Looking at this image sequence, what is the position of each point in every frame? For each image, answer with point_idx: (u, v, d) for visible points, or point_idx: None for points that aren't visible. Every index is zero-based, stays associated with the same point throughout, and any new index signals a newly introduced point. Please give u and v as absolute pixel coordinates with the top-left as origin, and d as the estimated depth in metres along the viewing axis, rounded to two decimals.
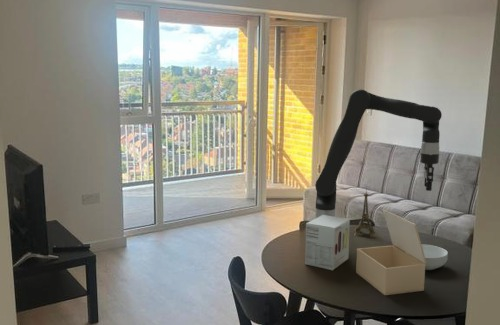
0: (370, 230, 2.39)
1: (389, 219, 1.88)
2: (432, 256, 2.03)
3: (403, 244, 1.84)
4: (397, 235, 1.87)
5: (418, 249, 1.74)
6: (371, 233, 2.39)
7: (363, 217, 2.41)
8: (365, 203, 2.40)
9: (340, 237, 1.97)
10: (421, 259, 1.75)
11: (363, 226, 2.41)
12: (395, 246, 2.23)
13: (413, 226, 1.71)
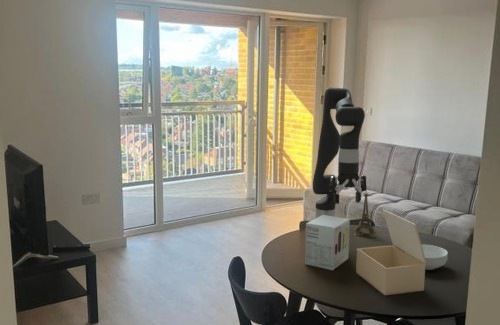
0: (370, 230, 2.39)
1: (389, 219, 1.88)
2: (432, 256, 2.03)
3: (403, 244, 1.84)
4: (397, 235, 1.87)
5: (418, 249, 1.74)
6: (371, 233, 2.39)
7: (363, 217, 2.41)
8: (365, 203, 2.40)
9: (340, 237, 1.97)
10: (421, 259, 1.75)
11: (363, 226, 2.41)
12: (395, 246, 2.22)
13: (413, 226, 1.71)
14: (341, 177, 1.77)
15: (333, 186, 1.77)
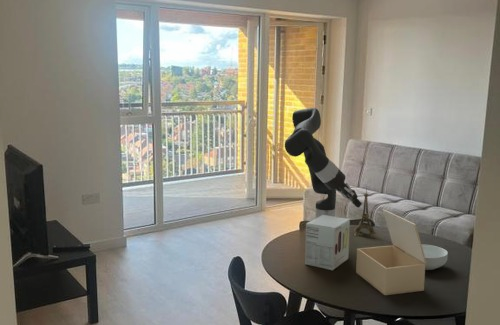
0: (370, 230, 2.39)
1: (389, 219, 1.88)
2: (432, 256, 2.03)
3: (403, 244, 1.84)
4: (397, 235, 1.87)
5: (418, 249, 1.74)
6: (371, 233, 2.39)
7: (363, 217, 2.41)
8: (365, 203, 2.40)
9: (340, 237, 1.97)
10: (421, 259, 1.75)
11: (363, 226, 2.41)
12: (395, 246, 2.22)
13: (413, 226, 1.71)
14: None
15: None
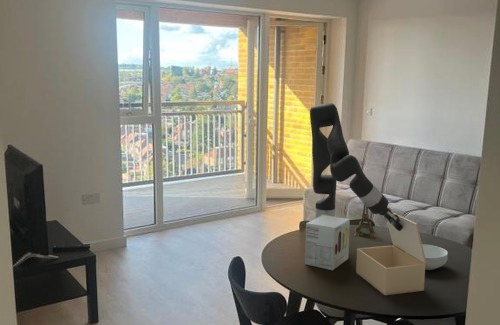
0: (370, 230, 2.39)
1: None
2: (432, 256, 2.03)
3: (404, 243, 1.84)
4: (397, 235, 1.87)
5: (418, 249, 1.74)
6: (371, 233, 2.39)
7: (363, 217, 2.41)
8: None
9: (340, 237, 1.97)
10: (421, 259, 1.75)
11: (363, 226, 2.41)
12: (395, 246, 2.22)
13: (414, 225, 1.71)
14: None
15: None
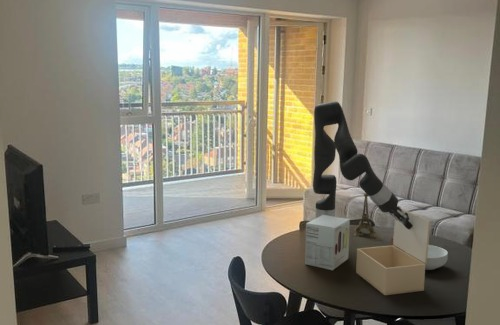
0: (370, 230, 2.39)
1: None
2: (432, 256, 2.03)
3: (407, 243, 1.85)
4: (403, 234, 1.87)
5: (423, 248, 1.75)
6: (371, 233, 2.39)
7: (363, 217, 2.41)
8: (365, 203, 2.40)
9: (340, 237, 1.97)
10: (422, 258, 1.75)
11: (363, 226, 2.41)
12: None
13: (427, 222, 1.72)
14: None
15: None
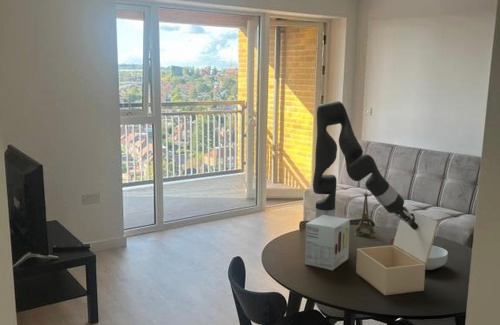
0: (370, 230, 2.39)
1: None
2: (432, 256, 2.03)
3: (409, 243, 1.85)
4: (406, 234, 1.88)
5: (425, 248, 1.75)
6: (371, 233, 2.39)
7: (363, 217, 2.41)
8: (365, 203, 2.40)
9: (340, 237, 1.97)
10: (422, 258, 1.75)
11: (363, 226, 2.41)
12: None
13: (435, 223, 1.73)
14: None
15: None
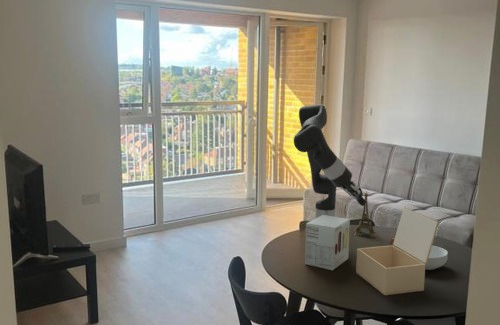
0: (370, 230, 2.39)
1: (406, 217, 1.90)
2: (432, 256, 2.03)
3: (409, 243, 1.85)
4: (406, 234, 1.88)
5: (425, 248, 1.75)
6: (371, 233, 2.39)
7: (363, 217, 2.41)
8: None
9: (340, 237, 1.97)
10: (422, 258, 1.75)
11: (363, 226, 2.41)
12: None
13: (435, 223, 1.73)
14: None
15: (346, 192, 1.78)
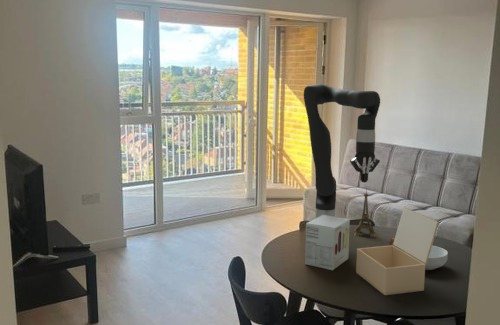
0: (370, 230, 2.39)
1: (406, 217, 1.90)
2: (432, 256, 2.03)
3: (409, 243, 1.85)
4: (406, 234, 1.88)
5: (425, 248, 1.75)
6: (371, 233, 2.39)
7: (363, 217, 2.41)
8: (365, 203, 2.40)
9: (340, 237, 1.97)
10: (422, 258, 1.75)
11: (363, 226, 2.41)
12: None
13: (435, 223, 1.73)
14: (358, 156, 1.94)
15: (357, 167, 1.94)
